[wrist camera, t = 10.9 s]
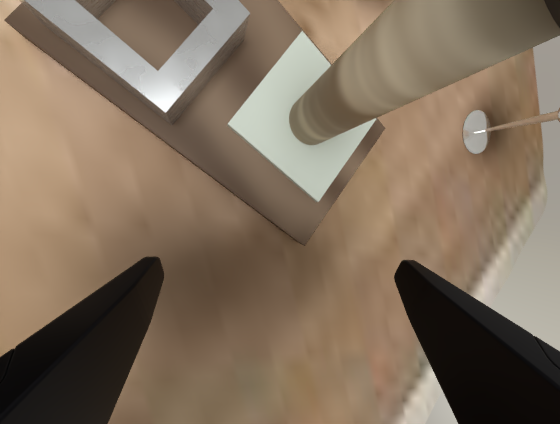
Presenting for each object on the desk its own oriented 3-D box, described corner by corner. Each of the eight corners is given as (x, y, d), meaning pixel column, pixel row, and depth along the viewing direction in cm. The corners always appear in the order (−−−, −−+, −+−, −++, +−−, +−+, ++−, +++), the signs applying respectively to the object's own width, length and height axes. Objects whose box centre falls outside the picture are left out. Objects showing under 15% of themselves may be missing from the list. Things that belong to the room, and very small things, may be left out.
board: (298, 242, 19) (304, 245, 18) (22, 35, 12) (4, 20, 11) (375, 131, 21) (385, 128, 20) (167, -109, 14) (164, -135, 13)
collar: (172, 125, 14) (165, 112, 12) (42, 23, 12) (1, -18, 9) (243, 40, 15) (250, 13, 13) (136, -71, 13) (121, -130, 10)
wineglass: (487, 92, 26) (711, 15, 14) (500, 145, 27) (709, 114, 16) (450, 117, 24) (669, 52, 13) (466, 171, 26) (671, 157, 14)
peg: (302, 164, 17) (699, 39, 3) (269, 106, 16) (675, -459, 2) (346, 134, 18) (785, -53, 4) (319, 78, 17) (799, -414, 3)
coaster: (315, 201, 18) (318, 202, 18) (226, 125, 15) (227, 123, 15) (372, 120, 19) (376, 118, 19) (299, 35, 16) (302, 30, 16)
